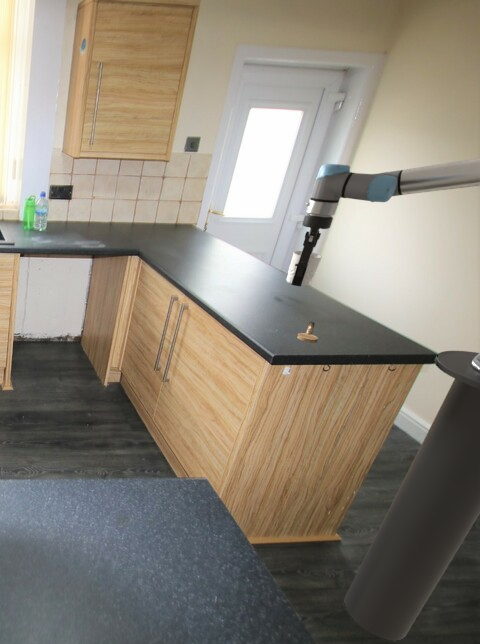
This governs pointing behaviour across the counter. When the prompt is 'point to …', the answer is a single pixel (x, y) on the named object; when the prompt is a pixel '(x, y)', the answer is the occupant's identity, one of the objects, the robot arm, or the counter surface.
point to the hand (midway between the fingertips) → (297, 282)
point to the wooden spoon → (308, 334)
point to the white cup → (310, 269)
